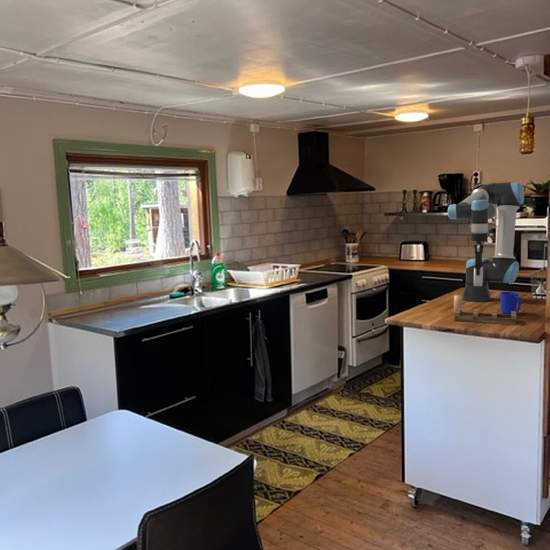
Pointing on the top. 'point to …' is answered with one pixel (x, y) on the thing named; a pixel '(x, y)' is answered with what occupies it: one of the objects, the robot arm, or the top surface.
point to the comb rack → (485, 317)
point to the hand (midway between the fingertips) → (478, 281)
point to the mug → (509, 302)
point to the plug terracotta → (458, 302)
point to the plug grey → (481, 278)
